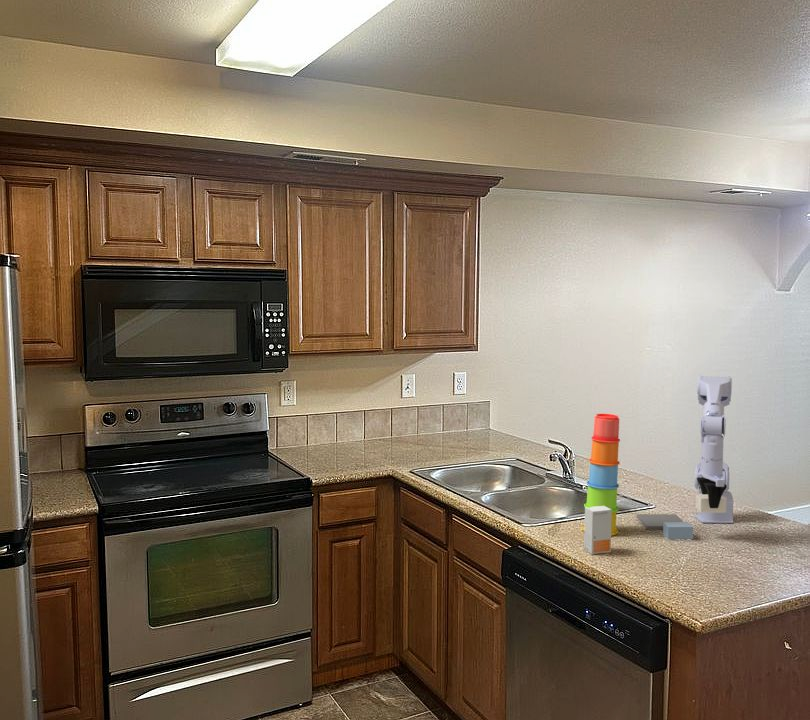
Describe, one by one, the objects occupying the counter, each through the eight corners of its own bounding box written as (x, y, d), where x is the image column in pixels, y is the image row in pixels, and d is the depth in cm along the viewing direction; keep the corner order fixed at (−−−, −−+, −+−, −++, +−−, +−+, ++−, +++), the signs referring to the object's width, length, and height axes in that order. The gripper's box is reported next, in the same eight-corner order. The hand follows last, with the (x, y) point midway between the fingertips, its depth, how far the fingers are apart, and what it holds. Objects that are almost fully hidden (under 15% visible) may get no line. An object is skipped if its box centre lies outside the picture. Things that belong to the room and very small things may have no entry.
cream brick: (720, 508, 219) (720, 494, 219) (726, 512, 215) (726, 498, 215) (695, 508, 220) (695, 494, 219) (700, 512, 215) (701, 498, 215)
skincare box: (591, 555, 205) (592, 511, 204) (583, 550, 209) (584, 507, 208) (611, 552, 207) (612, 509, 206) (603, 547, 211) (603, 505, 210)
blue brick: (687, 535, 221) (687, 521, 220) (692, 540, 216) (693, 526, 216) (663, 535, 221) (663, 522, 220) (668, 540, 216) (668, 526, 216)
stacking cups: (593, 523, 232) (594, 410, 229) (624, 531, 225) (626, 414, 222) (575, 531, 224) (576, 415, 221) (606, 539, 217) (608, 419, 214)
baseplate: (675, 517, 237) (675, 514, 237) (687, 529, 225) (688, 526, 225) (636, 517, 238) (636, 514, 238) (646, 529, 226) (646, 526, 226)
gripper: (689, 452, 223) (688, 498, 225) (706, 464, 209) (705, 512, 210) (714, 452, 223) (712, 498, 224) (732, 464, 209) (731, 512, 210)
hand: (710, 505), depth 217 cm, fingers closed on cream brick, 4 cm apart
